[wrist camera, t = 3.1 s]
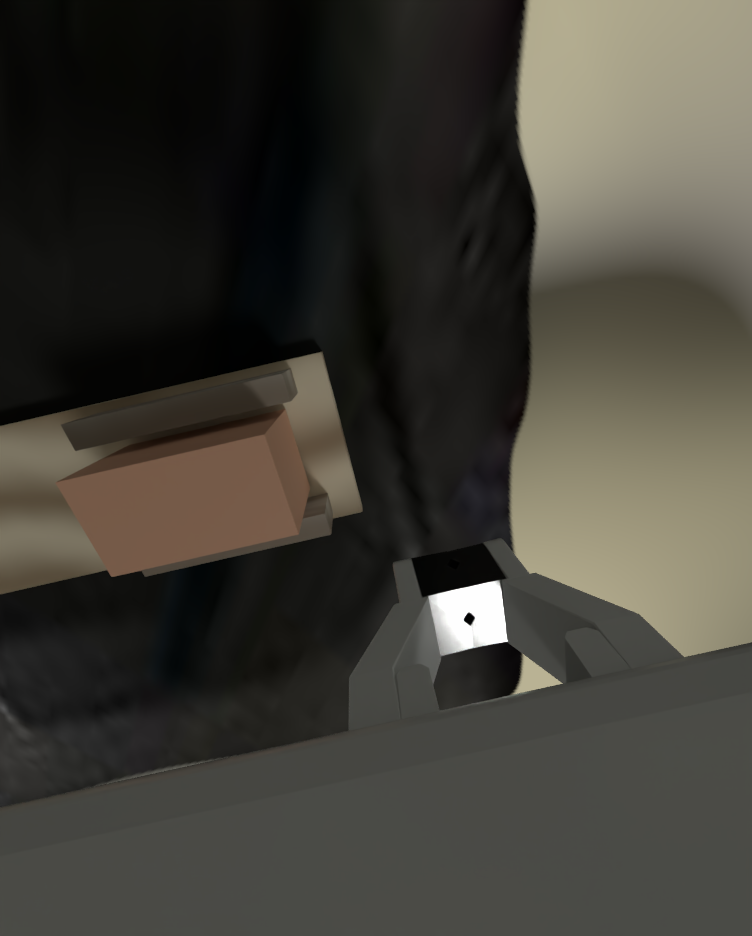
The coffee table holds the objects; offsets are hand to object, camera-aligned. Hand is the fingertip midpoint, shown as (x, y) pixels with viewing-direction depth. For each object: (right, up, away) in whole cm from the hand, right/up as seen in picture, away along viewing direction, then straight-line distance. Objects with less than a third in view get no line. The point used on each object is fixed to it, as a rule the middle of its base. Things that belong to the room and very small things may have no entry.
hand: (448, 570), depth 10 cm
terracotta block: (-12, +3, +13) cm, 18 cm away
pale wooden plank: (-20, +2, +15) cm, 25 cm away
